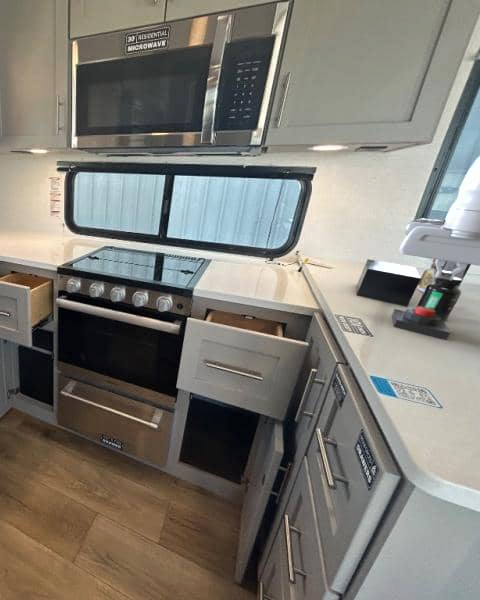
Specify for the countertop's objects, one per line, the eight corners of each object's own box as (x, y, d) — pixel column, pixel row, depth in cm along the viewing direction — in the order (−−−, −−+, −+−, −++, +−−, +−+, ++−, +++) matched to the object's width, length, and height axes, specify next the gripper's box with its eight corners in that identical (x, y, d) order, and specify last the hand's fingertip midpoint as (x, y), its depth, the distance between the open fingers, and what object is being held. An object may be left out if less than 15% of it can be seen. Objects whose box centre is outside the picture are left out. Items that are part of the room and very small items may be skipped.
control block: (439, 327, 89) (446, 314, 87) (446, 340, 82) (454, 326, 80) (391, 315, 94) (397, 303, 93) (393, 327, 87) (400, 313, 86)
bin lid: (420, 281, 98) (421, 278, 97) (366, 270, 105) (367, 268, 104) (414, 269, 109) (415, 267, 109) (366, 261, 117) (367, 259, 116)
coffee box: (453, 299, 110) (478, 253, 104) (429, 296, 112) (452, 250, 106) (437, 291, 118) (459, 247, 112) (414, 287, 120) (436, 244, 114)
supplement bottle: (427, 320, 93) (448, 280, 88) (407, 310, 99) (426, 272, 95) (453, 322, 92) (475, 282, 88) (432, 312, 99) (452, 274, 94)
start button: (431, 315, 87) (434, 309, 86) (433, 319, 84) (436, 313, 84) (413, 310, 89) (416, 305, 88) (414, 315, 86) (417, 309, 86)
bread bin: (407, 307, 102) (420, 280, 98) (356, 295, 109) (366, 270, 105) (402, 294, 113) (414, 269, 109) (357, 284, 120) (366, 261, 117)
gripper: (412, 218, 81) (389, 271, 86) (544, 231, 69) (507, 292, 74) (410, 215, 85) (388, 266, 91) (532, 227, 74) (499, 285, 79)
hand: (443, 278), depth 82 cm, fingers closed
